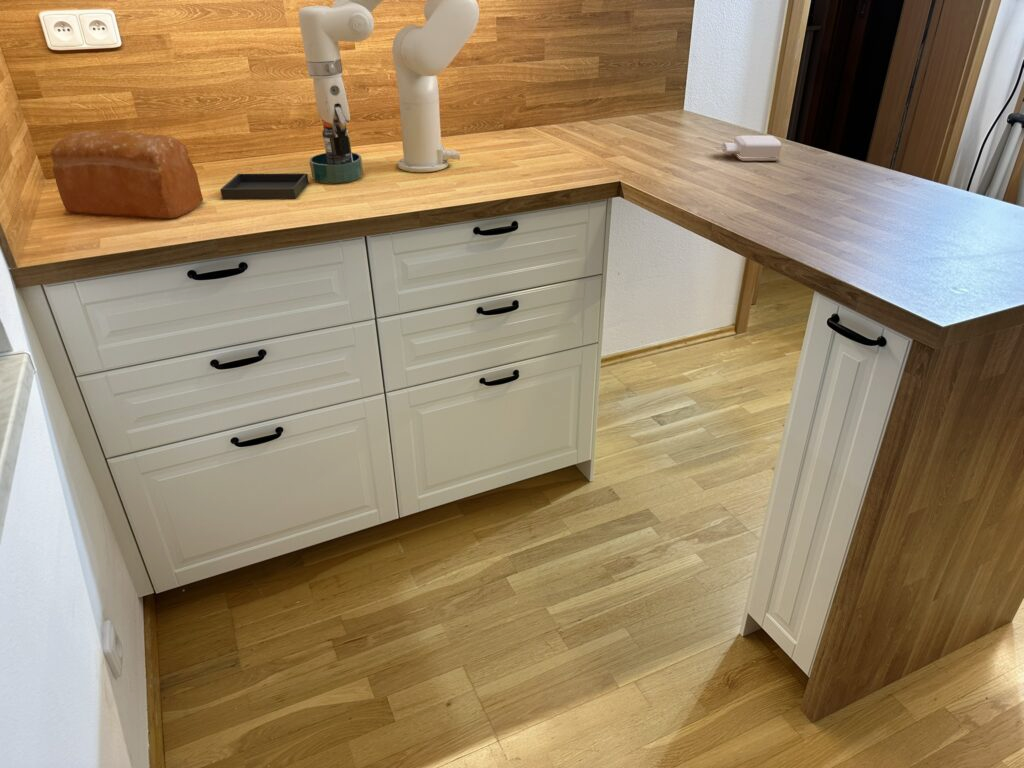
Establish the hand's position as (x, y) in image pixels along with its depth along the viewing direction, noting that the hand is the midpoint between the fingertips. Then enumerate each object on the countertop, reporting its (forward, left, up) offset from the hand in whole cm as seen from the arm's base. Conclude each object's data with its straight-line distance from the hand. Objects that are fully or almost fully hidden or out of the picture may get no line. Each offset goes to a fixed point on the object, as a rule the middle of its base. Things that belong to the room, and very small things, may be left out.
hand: (338, 150), depth 172 cm
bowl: (+1, 0, -6) cm, 6 cm away
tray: (+15, +11, -6) cm, 19 cm away
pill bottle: (0, 0, -4) cm, 4 cm away
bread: (+39, +23, -6) cm, 46 cm away
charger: (-101, -16, -6) cm, 102 cm away
